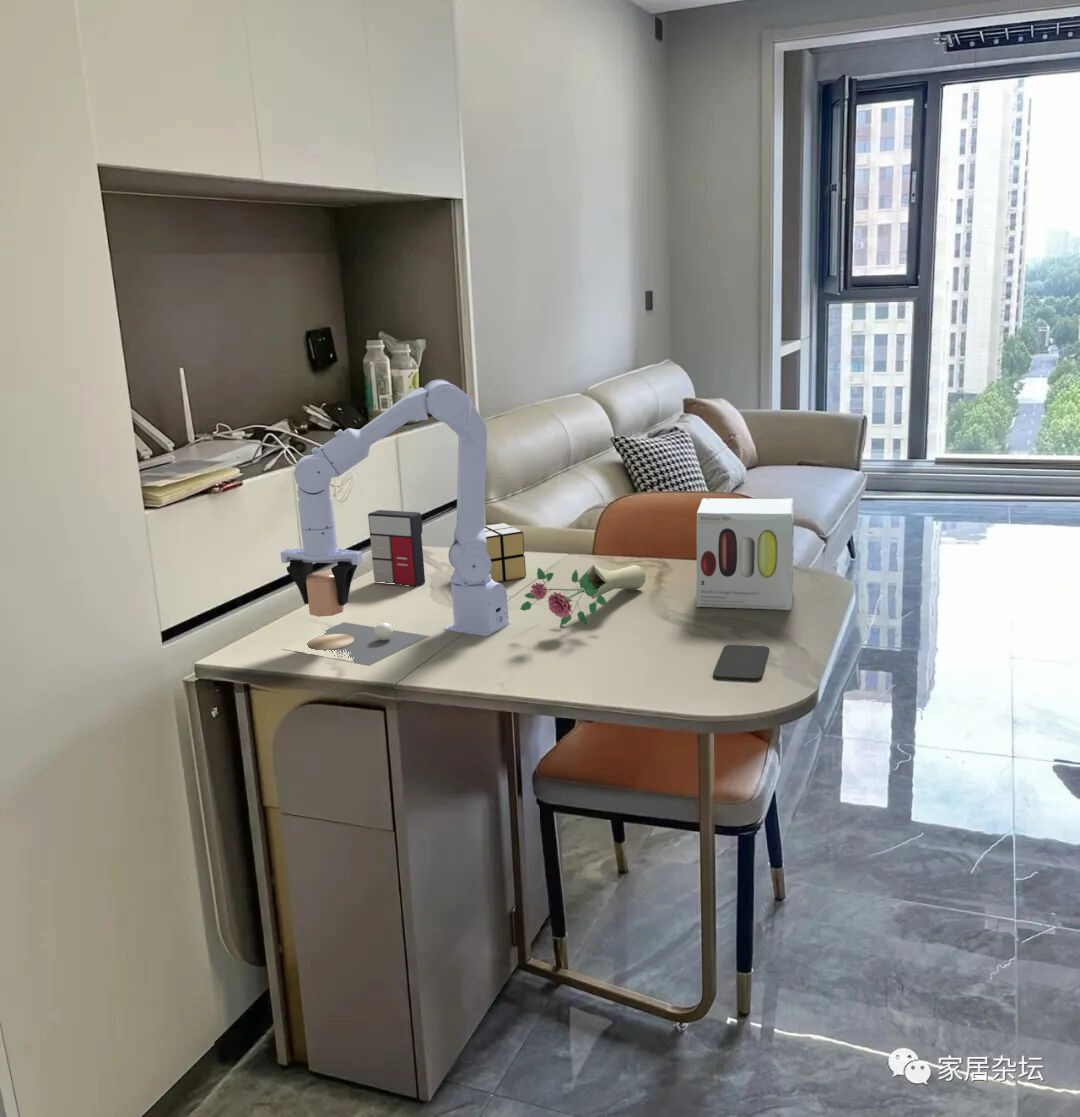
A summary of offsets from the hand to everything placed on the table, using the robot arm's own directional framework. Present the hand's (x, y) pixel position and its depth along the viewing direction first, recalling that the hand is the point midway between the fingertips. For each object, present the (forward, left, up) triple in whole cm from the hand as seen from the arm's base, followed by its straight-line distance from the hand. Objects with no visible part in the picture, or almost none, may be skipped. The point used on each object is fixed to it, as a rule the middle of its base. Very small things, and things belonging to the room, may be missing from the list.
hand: (326, 603), depth 186 cm
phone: (-68, -20, -8) cm, 71 cm away
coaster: (0, 0, -7) cm, 7 cm away
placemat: (-4, -2, -8) cm, 9 cm away
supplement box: (-56, -52, -8) cm, 77 cm away
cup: (0, 0, -2) cm, 2 cm away
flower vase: (-34, -34, -8) cm, 49 cm away
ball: (-8, -5, -6) cm, 11 cm away
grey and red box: (+14, -36, -8) cm, 39 cm away
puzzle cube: (-2, -48, -8) cm, 49 cm away
